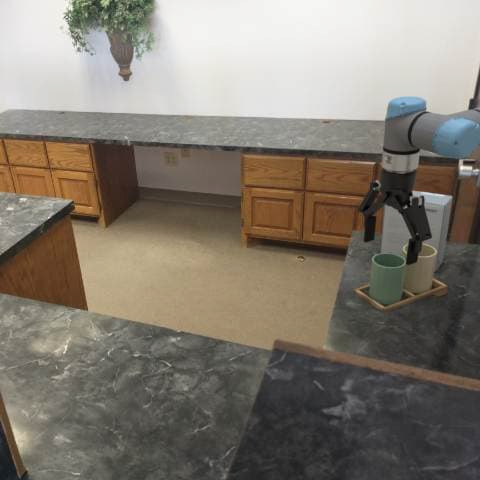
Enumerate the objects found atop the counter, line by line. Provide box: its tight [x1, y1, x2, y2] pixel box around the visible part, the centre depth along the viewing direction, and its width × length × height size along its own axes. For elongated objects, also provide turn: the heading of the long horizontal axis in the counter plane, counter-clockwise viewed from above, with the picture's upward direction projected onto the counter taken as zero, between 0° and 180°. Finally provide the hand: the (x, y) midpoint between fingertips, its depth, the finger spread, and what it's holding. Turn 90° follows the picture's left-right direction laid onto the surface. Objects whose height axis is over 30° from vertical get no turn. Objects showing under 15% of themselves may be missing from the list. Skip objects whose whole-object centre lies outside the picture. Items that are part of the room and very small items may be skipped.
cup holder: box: [353, 277, 449, 314], centre depth 131 cm, size 11×20×2 cm, turn 112°
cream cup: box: [402, 244, 437, 295], centre depth 130 cm, size 8×8×12 cm
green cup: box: [368, 252, 406, 306], centre depth 127 cm, size 8×8×12 cm
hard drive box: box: [379, 190, 454, 273], centre depth 142 cm, size 16×8×20 cm, turn 49°
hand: (389, 251), depth 124 cm, fingers open, 13 cm apart
